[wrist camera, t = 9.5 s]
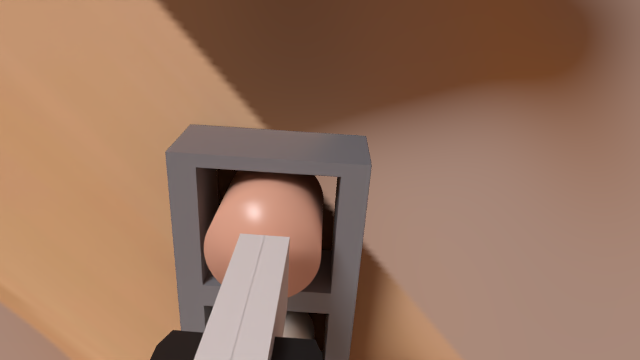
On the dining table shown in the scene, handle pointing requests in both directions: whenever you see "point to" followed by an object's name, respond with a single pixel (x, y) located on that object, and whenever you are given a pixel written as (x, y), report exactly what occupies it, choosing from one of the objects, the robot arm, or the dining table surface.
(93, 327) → the dining table surface
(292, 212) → the terracotta button
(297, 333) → the cream rounded dome
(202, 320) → the button panel
